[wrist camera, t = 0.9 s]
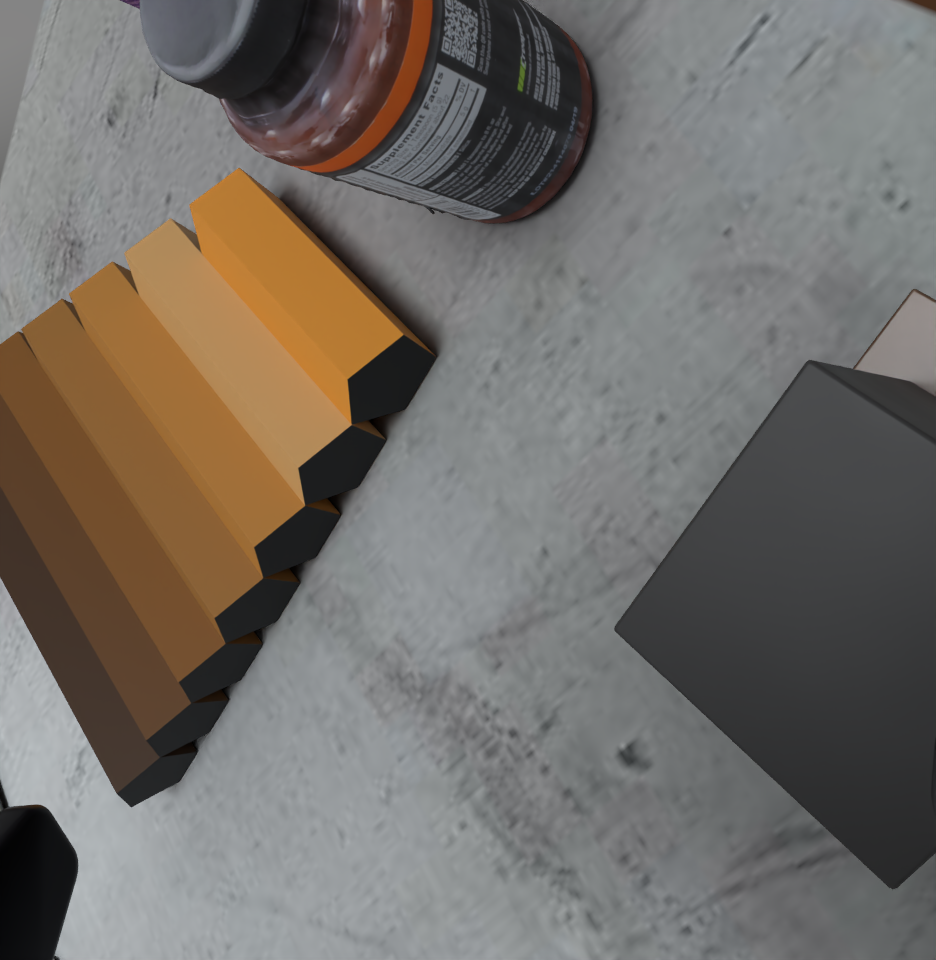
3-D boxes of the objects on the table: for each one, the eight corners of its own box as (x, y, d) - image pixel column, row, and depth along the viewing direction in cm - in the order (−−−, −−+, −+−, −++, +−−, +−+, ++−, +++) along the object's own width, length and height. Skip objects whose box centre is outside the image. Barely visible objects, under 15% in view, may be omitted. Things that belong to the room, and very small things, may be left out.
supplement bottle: (413, 111, 28) (81, -39, 19) (553, -24, 25) (230, -283, 16) (477, 267, 27) (155, 187, 18) (634, 149, 23) (334, -24, 14)
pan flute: (-30, 435, 49) (173, 790, 38) (-97, 436, 46) (102, 818, 36) (109, 8, 38) (446, 339, 28) (33, -23, 35) (374, 330, 25)
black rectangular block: (1166, 539, 15) (1201, 610, 9) (965, 735, 17) (893, 893, 11) (908, 379, 17) (808, 357, 11) (758, 569, 19) (611, 629, 13)
